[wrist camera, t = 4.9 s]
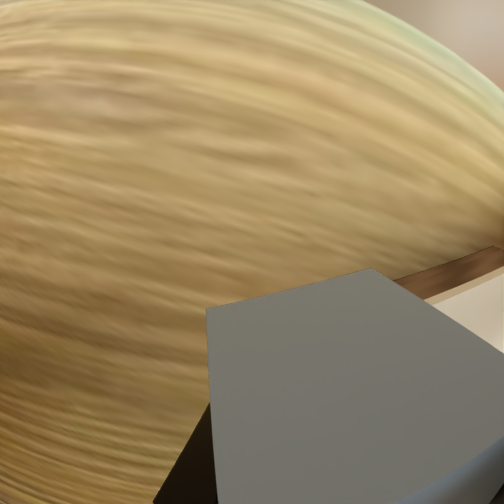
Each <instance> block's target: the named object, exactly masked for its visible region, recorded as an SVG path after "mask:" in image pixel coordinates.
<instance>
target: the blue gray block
mask: <svg viewBox="0 0 504 504" xmlns="http://www.w3.org/2000/svg"><path fill="white" fill-rule="evenodd" d="M206 321H207V349H208V371H209V390H210V407H211V422H212V436H213V449H214V461H215V473H216V484H217V494H218V504H489V503H490V501H491V500H492V499H493V497H494V496H495V495H496V493H497V492H498V491H499V489H500V488H501V486H502V485H503V484H504V353H502V352H501V351H499V350H498V349H496V348H495V347H494V346H492V345H491V344H489V343H488V342H486V341H485V340H483V339H482V338H480V337H479V336H477V335H476V334H474V333H473V332H471V331H470V330H468V329H467V328H465V327H464V326H462V325H461V324H459V323H458V322H456V321H455V320H453V319H452V318H450V317H449V316H447V315H446V314H444V313H442V312H441V311H439V310H438V309H436V308H435V307H433V306H432V305H430V304H428V303H427V302H425V301H424V300H422V299H421V298H419V297H417V296H416V295H414V294H413V293H411V292H409V291H408V290H406V289H405V288H403V287H401V286H400V285H398V284H397V283H395V282H393V281H392V280H390V279H388V278H387V277H385V276H384V275H382V274H380V273H379V272H377V271H375V270H374V269H372V268H369V269H365V270H362V271H358V272H354V273H351V274H347V275H343V276H339V277H336V278H332V279H328V280H324V281H320V282H317V283H313V284H309V285H305V286H301V287H297V288H293V289H289V290H285V291H281V292H277V293H273V294H268V295H264V296H260V297H256V298H252V299H247V300H243V301H239V302H234V303H230V304H226V305H221V306H217V307H212V308H208V309H206Z"/></svg>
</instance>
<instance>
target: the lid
mask: <svg viewBox="0 0 504 504" xmlns="http://www.w3.org/2000/svg"><path fill="white" fill-rule="evenodd" d="M424 301H425V302H427V303H428V304H430V305H432V306H433V307H435V308H436V309H438V310H439V311H441V312H442V313H444V314H446V315H447V316H449V317H450V318H452V319H453V320H455V321H456V322H458V323H459V324H461V325H462V326H464V327H465V328H467V329H468V330H470V331H471V332H473V333H474V334H476V335H477V336H479V337H480V338H482V339H483V340H485V341H486V342H488V343H489V344H491V345H492V346H494V347H495V348H496V349H498V350H499V351H501V352H502V353H504V266H503V267H501V268H499V269H496V270H494V271H492V272H490V273H488V274H485V275H483V276H481V277H479V278H476V279H474V280H472V281H469V282H467V283H465V284H462V285H460V286H457V287H455V288H453V289H450V290H448V291H445V292H443V293H440V294H438V295H435V296H432V297H430V298H427V299H425V300H424Z"/></svg>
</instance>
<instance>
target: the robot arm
mask: <svg viewBox="0 0 504 504" xmlns="http://www.w3.org/2000/svg"><path fill="white" fill-rule="evenodd" d="M153 504H218V494H217V484H216V473H215V461H214V449H213V436H212V422H211V407H210V403H209V404H208V406H207V408H206V410H205V412H204V413H203V415H202V417H201V419H200V421H199V422H198V424H197V426H196V428H195V430H194V431H193V433H192V435H191V437H190V438H189V440H188V442H187V444H186V445H185V447H184V449H183V451H182V452H181V454H180V456H179V458H178V459H177V461H176V463H175V465H174V466H173V468H172V470H171V471H170V473H169V475H168V477H167V478H166V480H165V482H164V483H163V485H162V487H161V488H160V490H159V492H158V493H157V495H156V497H155V498H154V500H153ZM489 504H504V484H503V485H502V486H501V488H500V489H499V491H498V492H497V493H496V495H495V496H494V497H493V499H492V500H491V501H490V503H489Z"/></svg>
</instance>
